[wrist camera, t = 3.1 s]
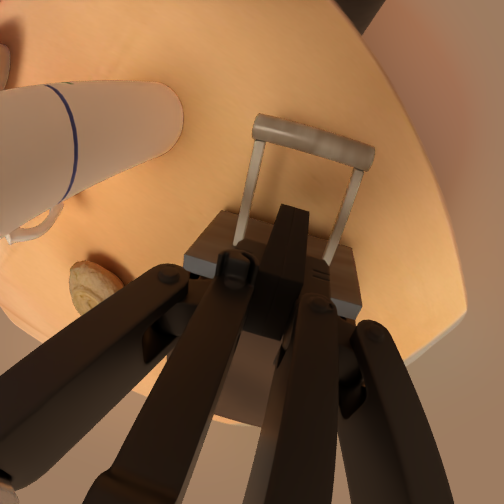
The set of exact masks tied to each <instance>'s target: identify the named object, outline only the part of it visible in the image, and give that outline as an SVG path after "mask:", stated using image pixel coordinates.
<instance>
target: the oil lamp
mask: <svg viewBox="0 0 504 504" xmlns="http://www.w3.org/2000/svg"><path fill="white" fill-rule="evenodd" d="M123 287H124V284H123V283H122V281H121V280H120V279H119V278H118V277H117V276H116V275H115V274H113V273H112V272H110V271H108V270H106V269H105V268H103V267H101V266H100V265H98V264H96V263H94V262H88V261H86V260H85V261H81V262H76V263H75V264H74V265H73V266H72V267H71V269H70V277H69V289H70V293H71V297H72V301H73V304H74V306H75V308H76V310H77V311H78V313H79V314H80V315H81V316H82V315H83V314H85V313H86V312H88V311H89V310H91V309H92V308H94V307H95V306H96V305H98V304H99V303H101V302H102V301H104V300H105V299H107V298H108V297H110V296H111V295H112V294H114V293H115V292H117V291H118V290H120V289H121V288H123Z"/></svg>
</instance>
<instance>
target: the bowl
mask: <svg viewBox="0 0 504 504" xmlns="http://www.w3.org/2000/svg"><path fill="white" fill-rule="evenodd" d="M9 71H10V52H9V49H8V47H7V46H6V45H2V44H1V43H0V91H2V90H4V88H5V86H6V83H7V80H8V76H9Z"/></svg>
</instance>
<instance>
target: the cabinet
mask: <svg viewBox="0 0 504 504" xmlns="http://www.w3.org/2000/svg"><path fill="white" fill-rule="evenodd" d="M187 272H188V274H189V279H198V278H199V277H200V275H198V274H195V273H192V272H189V271H187ZM340 317H341V318H342V319H344V320H345V321H347V322H349V323H351V324H353V325H355V326H356V324H355V320H353V319H349V318H345V317H342V316H340ZM282 340H283V337H282V339H281V341H277V340H274V339H270V338H267V337H263V336H260V335H256V334H253V333H249V332H246V331H243V330H242V332H241V335H240V339H239V342H238V345H237V348H236V351H235V354H234V357H233V360H232V363H231V366H230V369H229V372H228V374H227V377H226V380H225V383H224V386H223V389H222V392H221V395H220V398H219V400H218V403H217V406H216V409H215V412H214V414H215V415H218V416H222V417H225V418H228V419H232V420H235V421H239V422H242V423H246V424H249V425H253V426H258V427H261V428H262V424H263V420H264V415H265V411H266V406H267V402H268V397H269V393H270V388H271V383H272V379H273V374H274V369H275V365H273V362H274V360H275V357H276V355H277V353H278V350H279V348H280V346H281V344H282ZM173 349H174V348H173ZM173 349H172V350H171V351H170V352H169V353H168V354H167V360H168V358H169V357H170V355H171V353H172V351H173Z"/></svg>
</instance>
